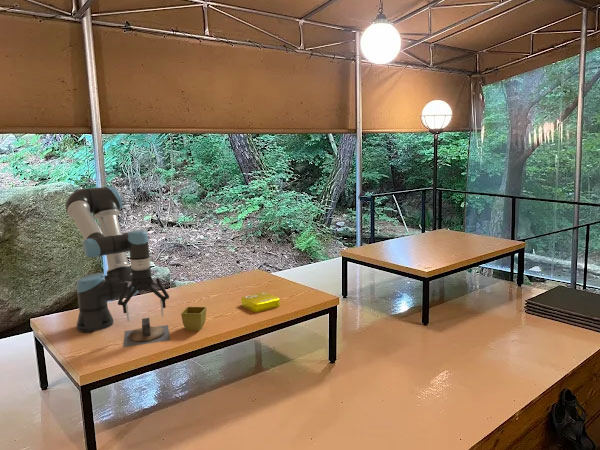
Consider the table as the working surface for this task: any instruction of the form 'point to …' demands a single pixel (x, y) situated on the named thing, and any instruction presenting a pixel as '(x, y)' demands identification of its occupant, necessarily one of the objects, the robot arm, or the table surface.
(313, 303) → the table surface
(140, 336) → the lid
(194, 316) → the flower pot
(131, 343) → the mat
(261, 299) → the element tile
